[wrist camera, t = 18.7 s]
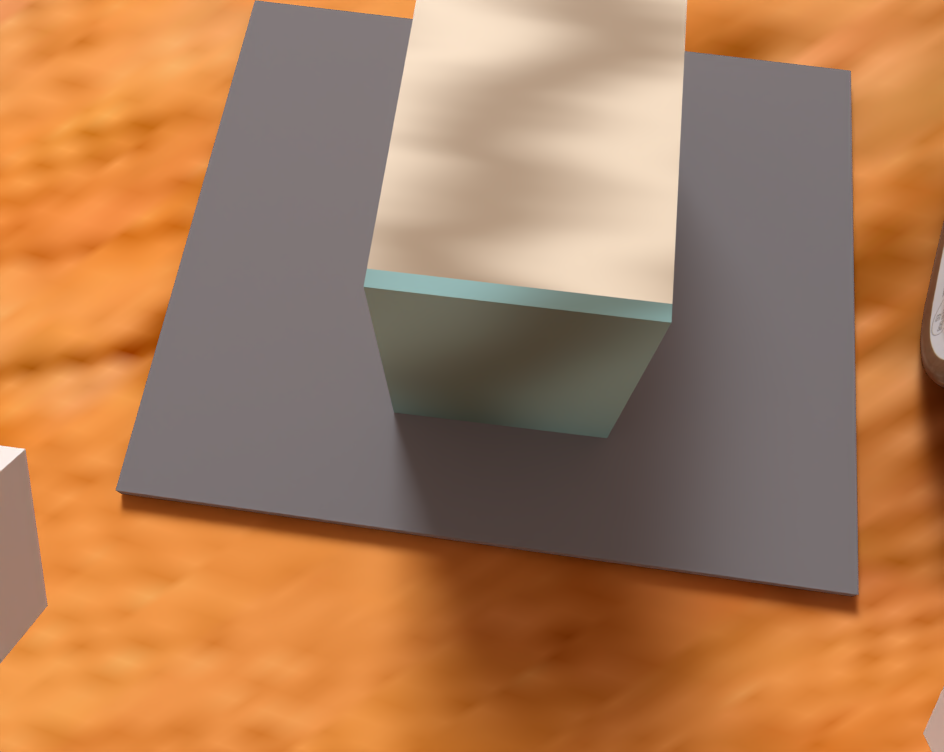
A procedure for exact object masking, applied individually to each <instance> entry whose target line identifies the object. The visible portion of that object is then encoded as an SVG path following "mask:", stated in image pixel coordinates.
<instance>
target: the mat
mask: <svg viewBox="0 0 944 752" xmlns="http://www.w3.org/2000/svg"><path fill="white" fill-rule="evenodd" d="M412 21H413V19H407V18H399V17H391V16H382V15H374V14H365V13H357V12H348V11H340V10H331V9H323V8H314V7H306V6H297V5H289V4H280V3H272V2H264V1H255V3H254V6H253V10H252V13H251V17H250V20H249V24H248V27H247V31H246V34H245V38H244V41H243V45H242V48H241V52H240V55H239V59H238V62H237V66H236V69H235V73H234V76H233V80H232V84H231V87H230V91H229V94H228V98H227V101H226V105H225V108H224V112H223V115H222V119H221V122H220V126H219V129H218V133H217V136H216V140H215V143H214V147H213V150H212V154H211V157H210V161H209V164H208V168H207V171H206V175H205V178H204V182H203V185H202V189H201V192H200V196H199V199H198V203H197V206H196V210H195V213H194V217H193V220H192V224H191V228H190V231H189V235H188V238H187V242H186V245H185V249H184V252H183V256H182V259H181V263H180V266H179V270H178V273H177V277H176V280H175V284H174V287H173V291H172V294H171V298H170V301H169V305H168V308H167V312H166V315H165V319H164V322H163V326H162V329H161V333H160V336H159V340H158V343H157V347H156V350H155V354H154V357H153V361H152V364H151V368H150V371H149V375H148V379H147V382H146V386H145V389H144V393H143V396H142V400H141V403H140V407H139V410H138V414H137V417H136V421H135V424H134V428H133V431H132V435H131V438H130V442H129V445H128V449H127V452H126V456H125V459H124V463H123V466H122V470H121V473H120V477H119V480H118V484H117V487H116V491H118V492H119V493H121V494H128V495H135V496H142V497H149V498H157V499H164V500H171V501H178V502H185V503H192V504H199V505H206V506H213V507H221V508H228V509H235V510H242V511H249V512H256V513H263V514H270V515H277V516H284V517H292V518H299V519H306V520H313V521H320V522H327V523H334V524H341V525H348V526H356V527H363V528H370V529H377V530H384V531H391V532H398V533H405V534H412V535H419V536H427V537H434V538H441V539H448V540H455V541H462V542H469V543H476V544H483V545H491V546H498V547H505V548H512V549H519V550H526V551H533V552H540V553H547V554H554V555H562V556H569V557H576V558H583V559H590V560H597V561H604V562H611V563H618V564H625V565H633V566H640V567H647V568H654V569H661V570H668V571H675V572H682V573H689V574H697V575H704V576H711V577H718V578H725V579H732V580H739V581H746V582H753V583H760V584H768V585H775V586H782V587H789V588H796V589H803V590H810V591H817V592H824V593H832V594H839V595H846V596H856V595H858V529H857V461H856V394H855V326H854V258H853V190H852V123H851V71H848V70H839V69H831V68H822V67H814V66H806V65H797V64H789V63H780V62H772V61H763V60H755V59H746V58H738V57H729V56H721V55H712V54H704V53H695V52H687V51H685V53H684V74H683V94H682V115H681V136H680V157H679V177H678V198H677V219H676V240H675V260H674V281H673V302H672V323H671V324H670V326H669V328H668V330H667V332H666V333H665V335H664V337H663V339H662V341H661V342H660V344H659V346H658V348H657V350H656V351H655V353H654V355H653V357H652V358H651V360H650V362H649V364H648V366H647V367H646V369H645V371H644V373H643V375H642V376H641V378H640V380H639V382H638V384H637V385H636V387H635V389H634V391H633V393H632V394H631V396H630V398H629V400H628V401H627V403H626V405H625V407H624V409H623V410H622V412H621V414H620V416H619V418H618V419H617V421H616V423H615V425H614V427H613V428H612V430H611V432H610V434H609V435H608V437H607V438H601V437H592V436H584V435H576V434H568V433H559V432H551V431H543V430H535V429H526V428H518V427H510V426H502V425H493V424H485V423H477V422H469V421H460V420H452V419H444V418H435V417H427V416H419V415H411V414H402V413H394V411H393V407H392V403H391V398H390V394H389V390H388V386H387V382H386V378H385V374H384V370H383V365H382V361H381V357H380V353H379V349H378V345H377V341H376V336H375V332H374V328H373V324H372V320H371V316H370V312H369V307H368V303H367V299H366V295H365V291H364V282H365V276H366V271H367V265H368V260H369V254H370V249H371V244H372V238H373V233H374V227H375V222H376V216H377V211H378V206H379V200H380V195H381V189H382V184H383V179H384V173H385V168H386V162H387V157H388V151H389V146H390V141H391V135H392V130H393V124H394V119H395V113H396V108H397V103H398V97H399V92H400V86H401V81H402V76H403V70H404V65H405V59H406V54H407V48H408V43H409V38H410V32H411V27H412Z"/></svg>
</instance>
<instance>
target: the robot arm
mask: <svg viewBox="0 0 944 752" xmlns="http://www.w3.org/2000/svg"><path fill="white" fill-rule="evenodd" d="M47 606H48V605H47V598H46V591H45V584H44V577H43V570H42V563H41V556H40V549H39V542H38V535H37V528H36V521H35V514H34V507H33V500H32V493H31V486H30V478H29V471H28V464H27V457H26V450H25V449H21V448H13V447H6V446H0V663H1V662H2V661H3V659H4V658H5V657H6V656H7V655H8V653H9V652H10V651H11V650H12V648H13V647H14V646H15V645H16V644H17V642H18V641H19V640H20V639H21V637H22V636H23V635H24V634H25V633H26V631H27V630H28V629H29V628H30V626H31V625H32V624H33V623H34V622H35V620H36V619H37V618H38V617H39V615H40V614H41V613H42V612H43V610H44V609H45V608H46V607H47ZM923 734H924V736H925V738H926V740H927V742H928V745H929V747H930V749H931V751H932V752H944V687H943V690H942V692H941V694H940V696H939V699H938V701H937V703H936V706H935V708H934V710H933V712H932V715H931V717H930V719H929V721H928V724H927V726H926V728H925V731H924V733H923Z"/></svg>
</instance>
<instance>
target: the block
mask: <svg viewBox="0 0 944 752" xmlns="http://www.w3.org/2000/svg"><path fill="white" fill-rule="evenodd" d="M686 11H687V0H416V5H415V10H414V16H413V21H412V27H411V32H410V38H409V43H408V48H407V54H406V59H405V65H404V70H403V76H402V81H401V86H400V92H399V97H398V103H397V108H396V113H395V119H394V124H393V130H392V135H391V141H390V146H389V151H388V157H387V162H386V168H385V173H384V179H383V184H382V189H381V195H380V200H379V206H378V211H377V216H376V222H375V227H374V233H373V238H372V244H371V249H370V254H369V260H368V265H367V271H366V276H365V282H364V291H365V295H366V299H367V303H368V307H369V312H370V316H371V320H372V324H373V328H374V332H375V336H376V341H377V345H378V349H379V353H380V357H381V361H382V365H383V370H384V374H385V378H386V382H387V386H388V390H389V394H390V398H391V403H392V407H393V411H394V413H402V414H411V415H419V416H427V417H435V418H444V419H452V420H460V421H469V422H477V423H485V424H493V425H502V426H510V427H518V428H526V429H535V430H543V431H551V432H559V433H568V434H576V435H584V436H592V437H601V438H607V437H608V435H609V434H610V432H611V430H612V428H613V427H614V425H615V423H616V421H617V419H618V418H619V416H620V414H621V412H622V410H623V409H624V407H625V405H626V403H627V401H628V400H629V398H630V396H631V394H632V393H633V391H634V389H635V387H636V385H637V384H638V382H639V380H640V378H641V376H642V375H643V373H644V371H645V369H646V367H647V366H648V364H649V362H650V360H651V358H652V357H653V355H654V353H655V351H656V350H657V348H658V346H659V344H660V342H661V341H662V339H663V337H664V335H665V333H666V332H667V330H668V328H669V326H670V324H671V323H672V302H673V281H674V260H675V240H676V219H677V198H678V177H679V157H680V136H681V115H682V94H683V74H684V53H685V32H686Z"/></svg>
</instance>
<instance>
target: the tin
mask: <svg viewBox="0 0 944 752" xmlns="http://www.w3.org/2000/svg"><path fill="white" fill-rule="evenodd" d="M920 344H921V356H922V362H923V366H924V369H925V371H926V373H927V375H928V376H929V377H930V378H931V380H932V381H934V382H935V383H936V384H938V385H939V386H941V387H943V388H944V222H943V227H942V231H941V235H940V240H939V244H938V248H937V253H936V257H935V261H934V266H933V270H932V275H931V280H930V284H929V289H928V293H927V298H926V302H925V307H924V314H923V320H922V328H921V342H920Z"/></svg>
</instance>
